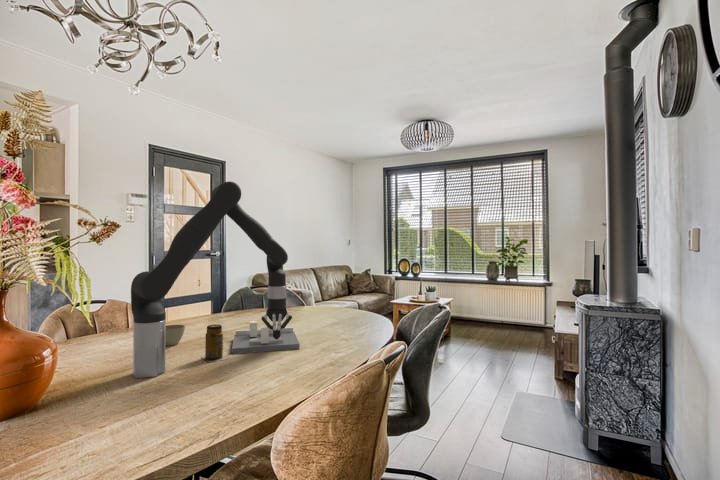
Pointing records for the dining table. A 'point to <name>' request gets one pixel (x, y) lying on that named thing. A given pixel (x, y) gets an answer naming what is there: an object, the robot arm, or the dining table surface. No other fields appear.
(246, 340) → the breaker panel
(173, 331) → the flower pot
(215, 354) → the condiment
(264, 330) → the block
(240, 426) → the dining table surface
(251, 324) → the breaker
